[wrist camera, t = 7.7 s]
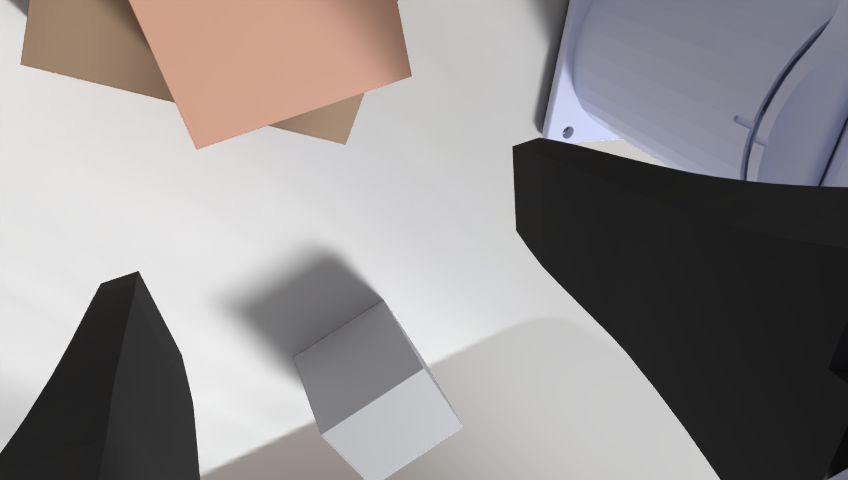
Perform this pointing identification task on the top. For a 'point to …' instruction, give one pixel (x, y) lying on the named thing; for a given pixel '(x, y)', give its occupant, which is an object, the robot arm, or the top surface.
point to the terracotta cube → (269, 57)
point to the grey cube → (374, 394)
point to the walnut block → (134, 58)
